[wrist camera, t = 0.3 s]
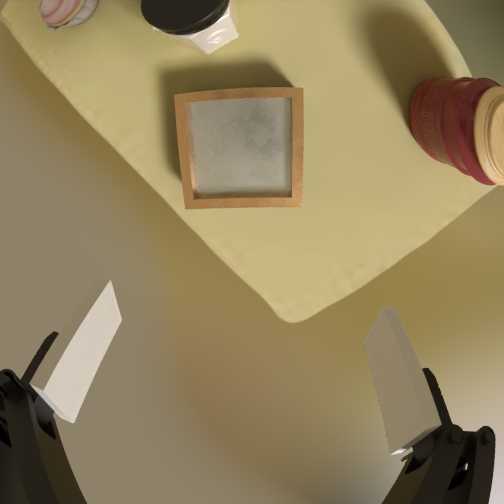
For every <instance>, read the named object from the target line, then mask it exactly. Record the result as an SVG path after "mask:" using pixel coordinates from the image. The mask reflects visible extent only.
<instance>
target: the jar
mask: <svg viewBox="0 0 504 504" xmlns="http://www.w3.org/2000/svg"><path fill="white" fill-rule="evenodd" d="M141 11H142V14H143V16H144V18H145V20H146V21H147V22H148V23H149V24H151V25H152V29H154V30H155V31H157V32H159V33H161V34H162V35H164V36H166V37H167V38H169V39H171V40H172V41H174V42H176V43H177V44H179V45H182V46H185V47H188V48H191V49H194V50H197V51H200V52H203V53H205V54H210V53H211V52H213V51H215V50H216V49H218V48H220V47H221V46H223V45H225V44H226V43H228V42H230V41H231V40H233V39H235V38H237V37H238V36H239V35H238V10H237V6H236V3H235V0H141Z"/></svg>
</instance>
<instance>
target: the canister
mask: <svg viewBox="0 0 504 504" xmlns="http://www.w3.org/2000/svg"><path fill="white" fill-rule="evenodd" d="M409 121H410V126H411V130H412V133H413V135H414V137H415V139H416V141H417V143H418V144H419V146H420V147H421V148H422V149H423V150H424V151H425V152H426V153H427V154H428V155H429V156H431V157H432V158H433V159H435V160H437V161H439V162H441V163H444V164H448V165H450V166H452V167H455V168H457V169H458V170H459V171H460V172H462V173H464V174H465V175H468V176H472V177H473V178H474V179H475V180H477V181H478V182H480V183H482V184H485V185H496V184H498V185H504V87H502V86H501V85H499V84H498V83H497V82H495V81H493V80H491V79H488V78H477V79H474V78H470V77H462V78H445V77H437V78H432V79H429V80H427V81H425V82H423V83H422V84H420V85H419V86H418V87H417V88H416V90H415V91H414V93H413V95H412V98H411V101H410V106H409Z"/></svg>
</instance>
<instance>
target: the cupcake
mask: <svg viewBox="0 0 504 504" xmlns="http://www.w3.org/2000/svg"><path fill="white" fill-rule="evenodd" d="M97 5H98V0H42V2H41V4H40V8H39V12H40V13H41V17H42V19H43V21H45V22H46V23H47V24H46V28H51V27H52V28H53V30H58V29H60V28H62V27H66V26H73V25H79V24H81V23H83V22H84V21H86V20H87V19H88V18H89V17H90V16H91V15H92V14H93V13H94V11H95V9H96V7H97Z"/></svg>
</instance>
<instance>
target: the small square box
mask: <svg viewBox="0 0 504 504" xmlns="http://www.w3.org/2000/svg"><path fill="white" fill-rule="evenodd" d="M174 102H175V116H176V129H177V140H178V153H179V160H180V170H181V178H182V187H183V195H184V203H185V209H206V208H246V207H302V186H303V126H304V120H303V88H294V87H253V88H232V89H218V90H208V91H198V92H190V93H183V94H176V95H174Z"/></svg>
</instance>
